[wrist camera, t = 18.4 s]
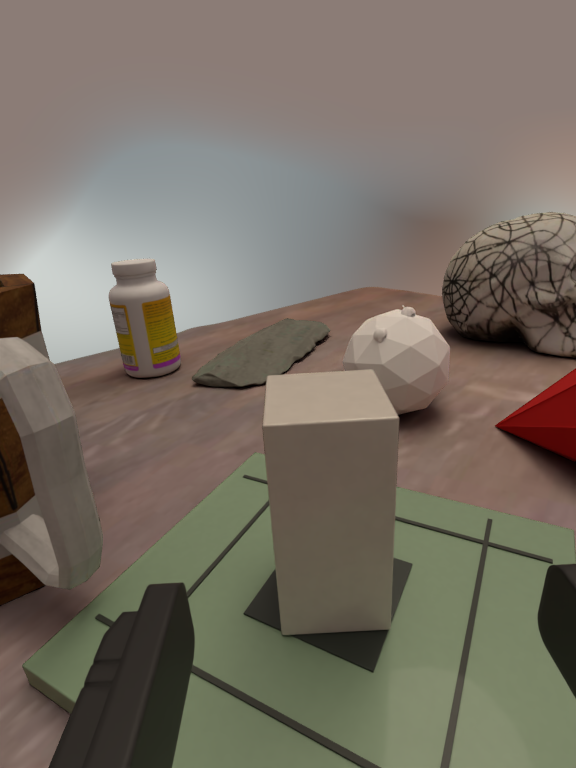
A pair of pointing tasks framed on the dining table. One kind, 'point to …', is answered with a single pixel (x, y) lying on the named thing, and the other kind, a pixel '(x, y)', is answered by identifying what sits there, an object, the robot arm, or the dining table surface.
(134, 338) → the supplement bottle
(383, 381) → the decorative ball
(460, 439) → the dining table surface
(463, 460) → the dining table surface
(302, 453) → the beige rectangular block
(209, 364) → the stone slab
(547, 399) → the gemstone
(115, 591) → the grid board
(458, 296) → the sculpture
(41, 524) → the mug
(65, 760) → the robot arm
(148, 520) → the dining table surface
